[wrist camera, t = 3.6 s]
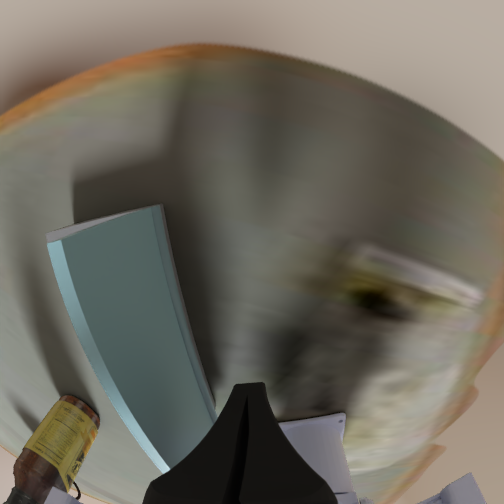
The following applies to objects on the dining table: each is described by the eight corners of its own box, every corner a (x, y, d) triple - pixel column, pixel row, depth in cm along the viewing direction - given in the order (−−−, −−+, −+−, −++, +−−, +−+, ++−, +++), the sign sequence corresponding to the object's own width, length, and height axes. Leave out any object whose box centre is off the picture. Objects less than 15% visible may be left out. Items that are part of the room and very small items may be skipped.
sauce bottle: (90, 430, 25) (37, 536, 6) (55, 398, 23) (-13, 499, 4) (112, 421, 24) (53, 549, 4) (72, 385, 22) (-9, 507, 3)
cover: (211, 426, 19) (222, 426, 19) (204, 516, 10) (218, 516, 10) (146, 207, 14) (162, 204, 14) (46, 243, 6) (69, 237, 6)
